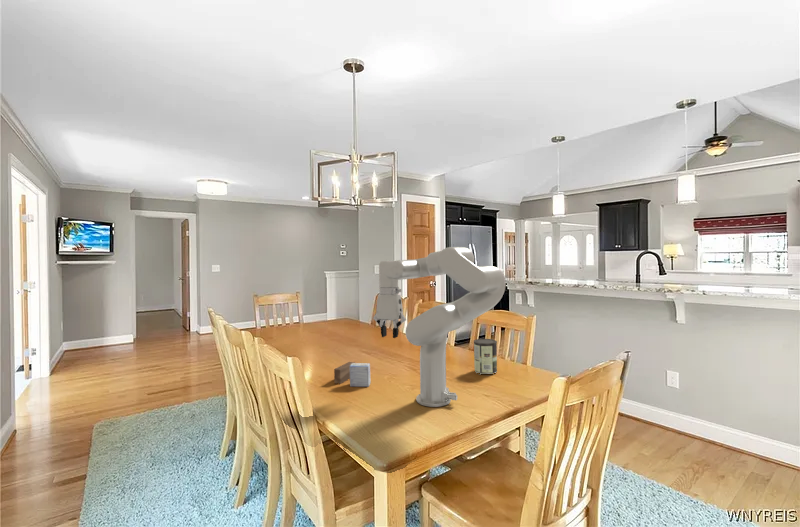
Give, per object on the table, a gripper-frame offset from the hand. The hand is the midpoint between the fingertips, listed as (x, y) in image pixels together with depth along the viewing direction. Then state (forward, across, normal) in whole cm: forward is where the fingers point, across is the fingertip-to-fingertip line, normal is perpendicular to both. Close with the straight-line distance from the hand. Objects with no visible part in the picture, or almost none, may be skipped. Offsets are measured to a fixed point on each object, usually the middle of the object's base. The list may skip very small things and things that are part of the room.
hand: (389, 336), depth 157 cm
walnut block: (+21, +24, -4) cm, 32 cm away
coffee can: (+22, -30, -37) cm, 52 cm away
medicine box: (+22, +14, 0) cm, 26 cm away
